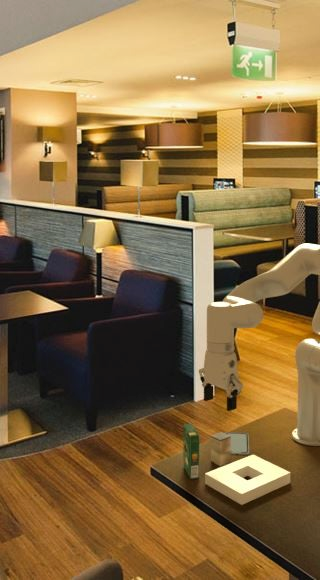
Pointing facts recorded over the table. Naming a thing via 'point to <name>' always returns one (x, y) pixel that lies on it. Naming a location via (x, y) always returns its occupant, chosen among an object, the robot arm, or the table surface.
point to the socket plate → (241, 490)
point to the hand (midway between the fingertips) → (219, 404)
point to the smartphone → (239, 443)
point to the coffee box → (191, 451)
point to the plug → (221, 448)
